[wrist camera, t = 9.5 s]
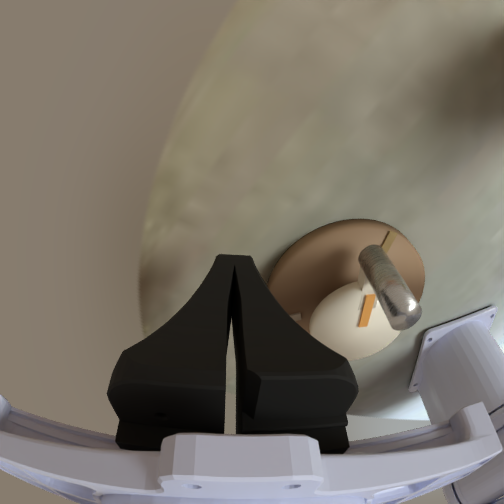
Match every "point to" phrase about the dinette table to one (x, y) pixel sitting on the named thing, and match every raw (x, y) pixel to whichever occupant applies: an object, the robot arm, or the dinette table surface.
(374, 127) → the dinette table surface
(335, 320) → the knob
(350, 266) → the base
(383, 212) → the dinette table surface
